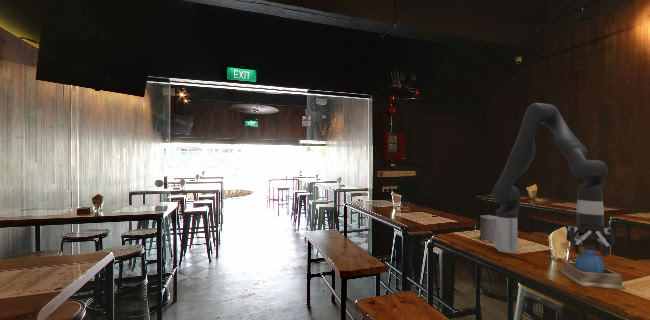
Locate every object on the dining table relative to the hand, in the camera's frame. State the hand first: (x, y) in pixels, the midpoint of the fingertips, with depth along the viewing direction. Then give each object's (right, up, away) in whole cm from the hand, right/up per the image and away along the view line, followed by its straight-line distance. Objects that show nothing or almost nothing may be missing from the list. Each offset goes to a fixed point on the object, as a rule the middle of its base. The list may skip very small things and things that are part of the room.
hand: (590, 254), depth 108 cm
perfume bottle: (0, -9, 0) cm, 9 cm away
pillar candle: (-6, -11, +55) cm, 56 cm away
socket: (0, -10, 0) cm, 10 cm away
